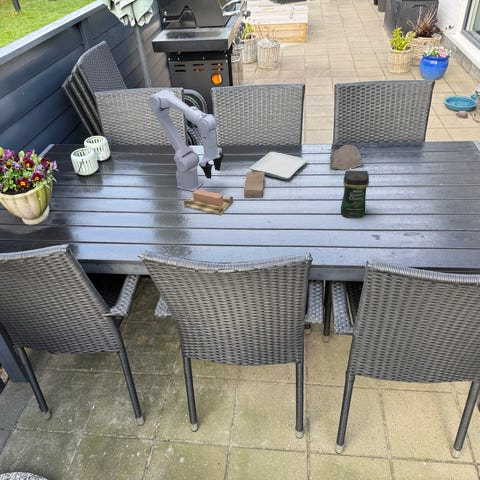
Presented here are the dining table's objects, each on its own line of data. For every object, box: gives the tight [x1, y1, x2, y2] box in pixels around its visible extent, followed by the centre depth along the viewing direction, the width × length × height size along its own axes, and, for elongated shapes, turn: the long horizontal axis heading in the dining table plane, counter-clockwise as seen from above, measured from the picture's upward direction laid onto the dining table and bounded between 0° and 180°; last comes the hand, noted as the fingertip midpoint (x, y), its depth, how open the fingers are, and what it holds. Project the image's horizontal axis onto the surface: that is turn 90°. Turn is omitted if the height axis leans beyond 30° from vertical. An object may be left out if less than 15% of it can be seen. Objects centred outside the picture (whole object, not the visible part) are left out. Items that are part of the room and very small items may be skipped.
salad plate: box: [249, 151, 309, 180], centre depth 215 cm, size 21×21×3 cm
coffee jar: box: [340, 170, 370, 218], centre depth 175 cm, size 10×8×19 cm
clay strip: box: [192, 188, 224, 207], centre depth 191 cm, size 13×3×4 cm, turn 63°
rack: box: [183, 188, 234, 216], centre depth 192 cm, size 18×11×3 cm, turn 63°
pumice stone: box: [329, 144, 364, 171], centre depth 210 cm, size 15×8×10 cm, turn 88°
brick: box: [243, 171, 266, 199], centre depth 200 cm, size 17×8×5 cm, turn 175°
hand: (213, 174), depth 194 cm, fingers open, 7 cm apart
